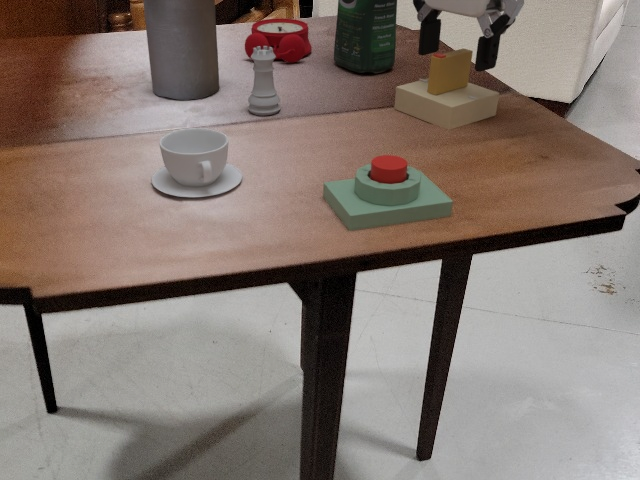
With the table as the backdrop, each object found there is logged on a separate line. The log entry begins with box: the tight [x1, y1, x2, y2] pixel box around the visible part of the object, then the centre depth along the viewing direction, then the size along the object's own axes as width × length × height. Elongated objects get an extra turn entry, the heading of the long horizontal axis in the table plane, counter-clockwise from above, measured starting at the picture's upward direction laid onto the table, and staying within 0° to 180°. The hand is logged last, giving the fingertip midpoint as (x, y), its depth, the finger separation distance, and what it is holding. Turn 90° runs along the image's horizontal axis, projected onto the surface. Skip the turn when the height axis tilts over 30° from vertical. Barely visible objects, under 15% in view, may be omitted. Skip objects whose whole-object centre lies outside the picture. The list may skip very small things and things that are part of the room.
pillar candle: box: [142, 0, 220, 101], centre depth 101 cm, size 10×10×15 cm
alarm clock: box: [244, 18, 313, 64], centre depth 118 cm, size 10×6×15 cm
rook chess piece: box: [247, 46, 281, 117], centre depth 96 cm, size 4×4×8 cm
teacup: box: [151, 127, 243, 198], centre depth 80 cm, size 10×10×5 cm
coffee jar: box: [333, 0, 398, 74], centre depth 109 cm, size 10×8×19 cm
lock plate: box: [393, 77, 500, 131], centre depth 97 cm, size 10×9×3 cm
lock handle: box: [427, 48, 473, 95], centre depth 95 cm, size 6×2×5 cm, turn 126°
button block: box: [322, 163, 454, 232], centre depth 75 cm, size 11×8×4 cm
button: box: [370, 154, 409, 184], centre depth 74 cm, size 4×4×2 cm
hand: (455, 61), depth 94 cm, fingers open, 9 cm apart
